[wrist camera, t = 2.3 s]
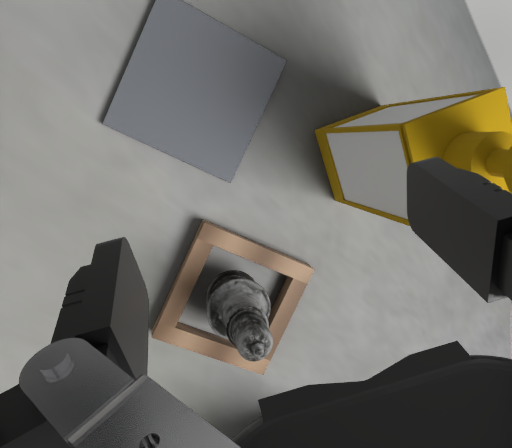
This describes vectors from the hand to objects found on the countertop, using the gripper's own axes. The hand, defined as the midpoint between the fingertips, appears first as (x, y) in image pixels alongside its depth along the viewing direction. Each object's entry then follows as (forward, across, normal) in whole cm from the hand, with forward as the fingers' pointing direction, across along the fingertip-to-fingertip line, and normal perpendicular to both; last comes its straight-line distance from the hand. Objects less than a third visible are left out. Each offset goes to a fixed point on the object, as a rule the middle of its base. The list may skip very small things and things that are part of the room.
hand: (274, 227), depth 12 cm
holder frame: (+23, +2, +21) cm, 31 cm away
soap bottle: (+28, -16, +11) cm, 34 cm away
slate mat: (+29, 0, +2) cm, 29 cm away
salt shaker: (+24, +2, +21) cm, 31 cm away
